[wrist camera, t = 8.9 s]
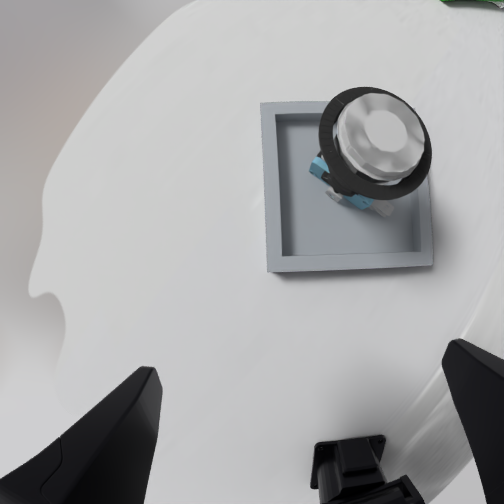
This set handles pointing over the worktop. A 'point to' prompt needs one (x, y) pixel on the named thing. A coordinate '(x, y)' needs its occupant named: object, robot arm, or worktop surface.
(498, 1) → the green onion
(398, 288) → the worktop surface
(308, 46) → the worktop surface
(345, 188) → the push button
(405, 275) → the worktop surface
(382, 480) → the robot arm
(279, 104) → the tray
